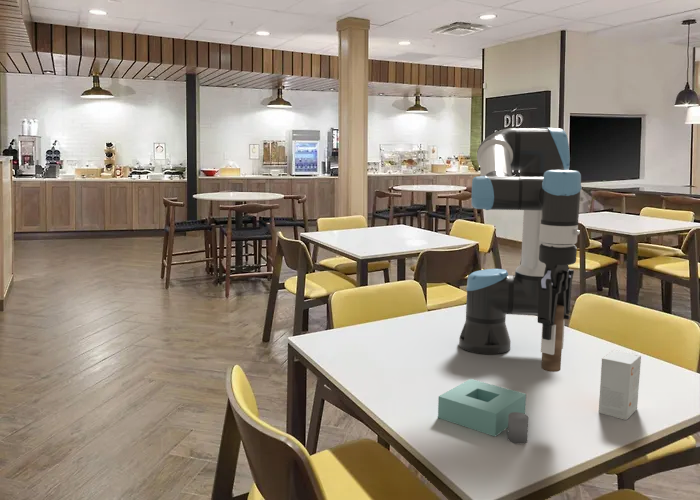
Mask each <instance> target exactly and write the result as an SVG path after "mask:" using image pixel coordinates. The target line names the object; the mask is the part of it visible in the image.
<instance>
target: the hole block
mask: <svg viewBox="0 0 700 500" xmlns="http://www.w3.org/2000/svg"><path fill="white" fill-rule="evenodd" d="M437 401H438V405H437V406H438V407H437V418H438V419H440V420H444V421H446V422H450V423H453V424H456V425H459V426H462V427H465V428H467V429H468V428H469V429H471V430H474V431H477V432H480V433H483V434H487V435H489V436H492V437H496V436H498V435H499V434H501V433H502V432H504V431H505V430H507V429H508V415H509V414H510V413H513V412H519V413H524V414H526V405H527V404H526V402H527V394H526V393H525V392H520V391H516V390H514V389H510V388H506V387H502V386H498V385H495V384H491V383H488V382H484V381H480V380H476V379H473V378H469V379H467V380H466V381H464V382H463V383H460V384H458V385H456V386H455V387H453V388H451V389H449V390H448V391H446V392H444V393H442V394H440V395H438V400H437Z"/></svg>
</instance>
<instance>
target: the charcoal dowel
mask: <svg viewBox="0 0 700 500" xmlns="http://www.w3.org/2000/svg"><path fill="white" fill-rule="evenodd" d="M529 420H530V419H529V416H528V414H526V413H525V414H524V413H519V412H513V413H510V414H509V415H508V428H507V440H508V441H509V442H510V443H512V444H517V445H521V444H526V443H528V441H529V440H528V438H529V437H528V435H529Z"/></svg>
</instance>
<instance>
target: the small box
mask: <svg viewBox="0 0 700 500" xmlns="http://www.w3.org/2000/svg"><path fill="white" fill-rule="evenodd" d="M641 363H642V355H641V354H636V353H633V352H632V353H631V352H627V351H622V350H615V349H613V350H611V351H610V352H608V353H607V354H606V355H605V356H603V357H602V358H601V367H600V369H601V371H600V385H599V386H600V387H599V400H598V401H599V402H598V413H599V414H602V415H606V416H609V417H612V418H617V419H621V420H625V421H627V420H629V418H630V417H631V416H632V415H634V413H635V412H636V411H637V410H638V404H639V403H638V402H639V388H640V375H641Z"/></svg>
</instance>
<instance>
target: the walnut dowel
mask: <svg viewBox="0 0 700 500" xmlns="http://www.w3.org/2000/svg"><path fill="white" fill-rule="evenodd" d="M563 320H565V319H564V306H562V305H558V304H557V306H556V313H555V321H554V324H555V325H556V335H555V352H554V355H551V354H546V353H542V352H541V366H540V367H541V370H543V371H546V372H550V373H556V372H557V373H558V372H559V371H561V367H562V365H561V364H562V351H563V349H562V336H563Z"/></svg>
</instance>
